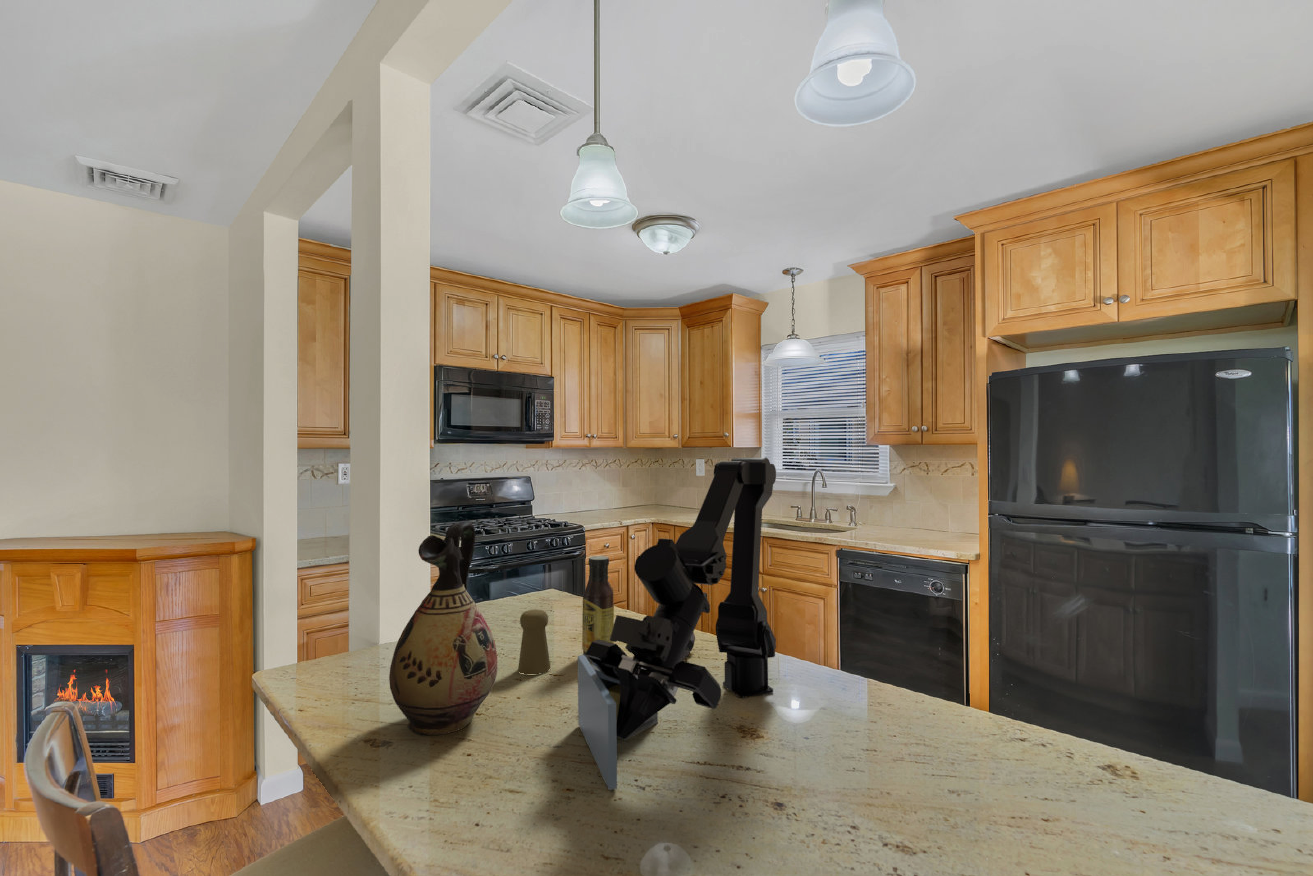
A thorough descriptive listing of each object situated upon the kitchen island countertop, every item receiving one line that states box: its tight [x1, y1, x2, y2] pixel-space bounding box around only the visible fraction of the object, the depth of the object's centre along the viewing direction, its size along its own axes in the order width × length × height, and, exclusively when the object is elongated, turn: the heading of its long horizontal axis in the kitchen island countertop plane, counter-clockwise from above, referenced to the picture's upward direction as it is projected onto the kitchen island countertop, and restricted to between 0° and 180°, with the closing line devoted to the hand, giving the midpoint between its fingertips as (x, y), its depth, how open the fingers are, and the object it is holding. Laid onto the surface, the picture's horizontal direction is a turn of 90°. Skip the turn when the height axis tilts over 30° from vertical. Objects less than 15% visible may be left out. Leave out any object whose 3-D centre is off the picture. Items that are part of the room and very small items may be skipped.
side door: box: [577, 654, 618, 791], centre depth 82 cm, size 1×19×10 cm, turn 18°
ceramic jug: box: [388, 520, 498, 737], centre depth 94 cm, size 17×15×30 cm
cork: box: [517, 608, 551, 674], centre depth 115 cm, size 6×6×11 cm
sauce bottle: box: [581, 555, 615, 661], centre depth 122 cm, size 7×6×20 cm
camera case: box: [591, 663, 659, 741], centre depth 91 cm, size 7×8×8 cm
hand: (619, 737), depth 73 cm, fingers closed
